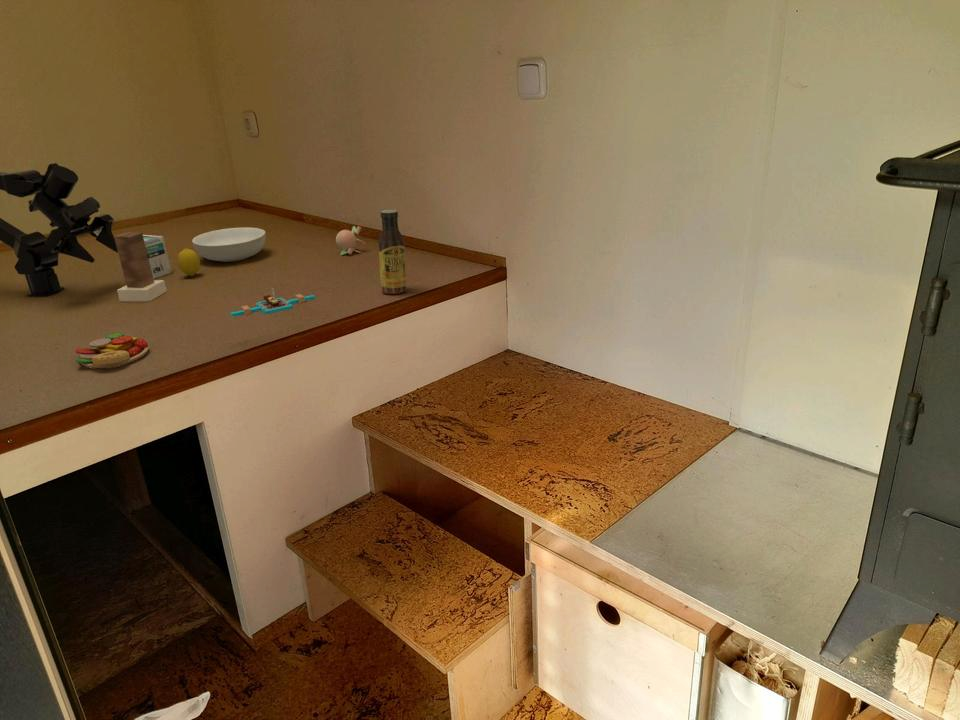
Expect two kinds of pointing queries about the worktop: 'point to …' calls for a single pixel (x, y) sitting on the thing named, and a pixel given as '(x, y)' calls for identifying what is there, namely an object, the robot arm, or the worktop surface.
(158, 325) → the worktop surface
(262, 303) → the multicoloured piece
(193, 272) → the lemon
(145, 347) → the toy food set
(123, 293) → the cream plinth
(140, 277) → the walnut column
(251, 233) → the serving bowl
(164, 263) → the light bulb box
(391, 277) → the sauce bottle
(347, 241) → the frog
